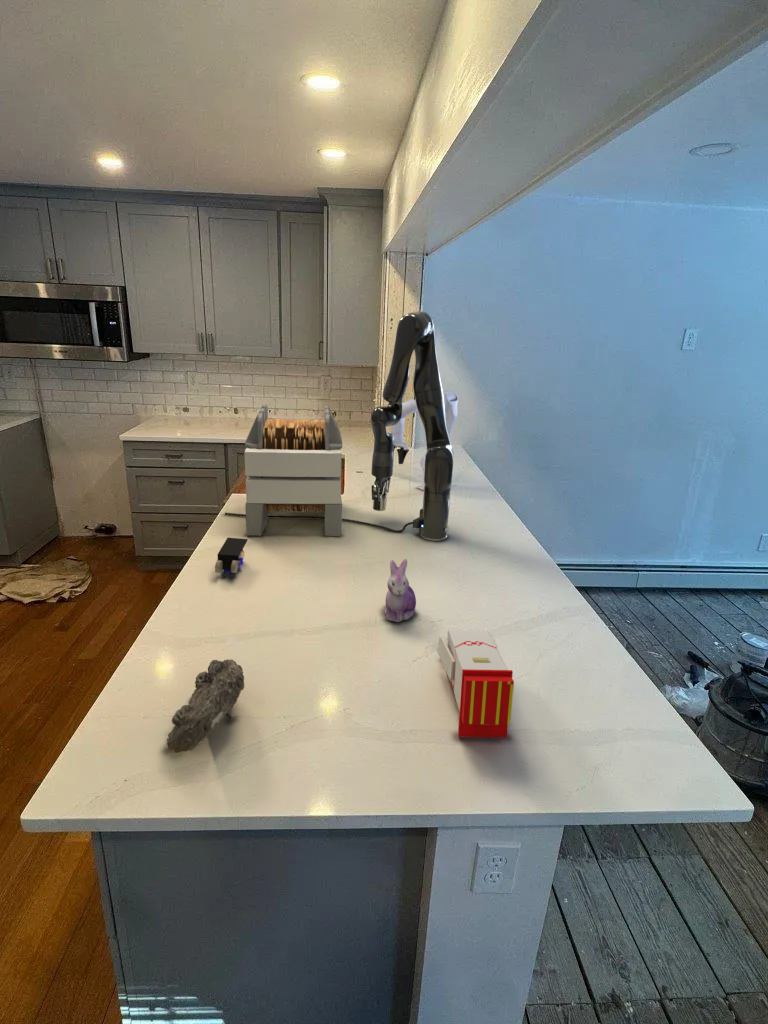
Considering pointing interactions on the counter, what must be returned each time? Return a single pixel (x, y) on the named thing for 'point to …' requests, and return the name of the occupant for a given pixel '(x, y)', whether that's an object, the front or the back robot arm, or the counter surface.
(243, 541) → the figurine character
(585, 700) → the counter surface
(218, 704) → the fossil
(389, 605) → the figurine
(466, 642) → the toy
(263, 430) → the grey crate
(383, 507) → the can
